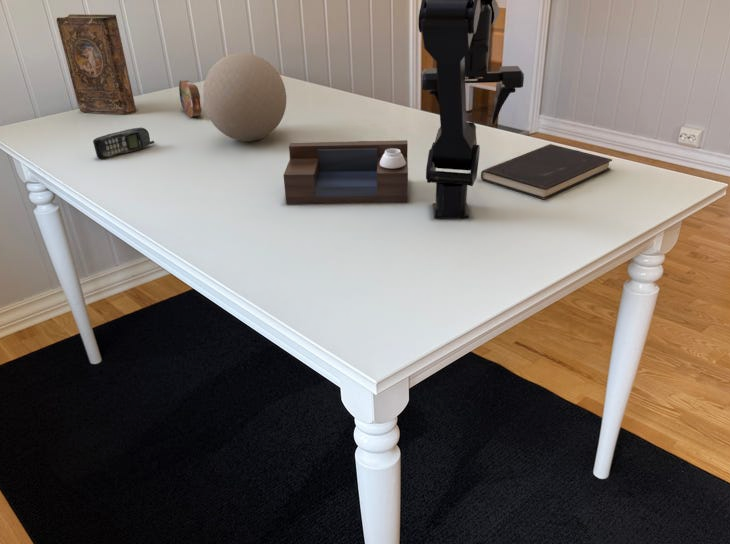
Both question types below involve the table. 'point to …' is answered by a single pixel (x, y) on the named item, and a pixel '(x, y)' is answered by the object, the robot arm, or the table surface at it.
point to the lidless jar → (392, 159)
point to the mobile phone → (121, 142)
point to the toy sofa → (344, 173)
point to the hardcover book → (546, 171)
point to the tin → (190, 98)
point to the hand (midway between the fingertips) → (468, 124)
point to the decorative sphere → (244, 96)
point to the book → (97, 63)
